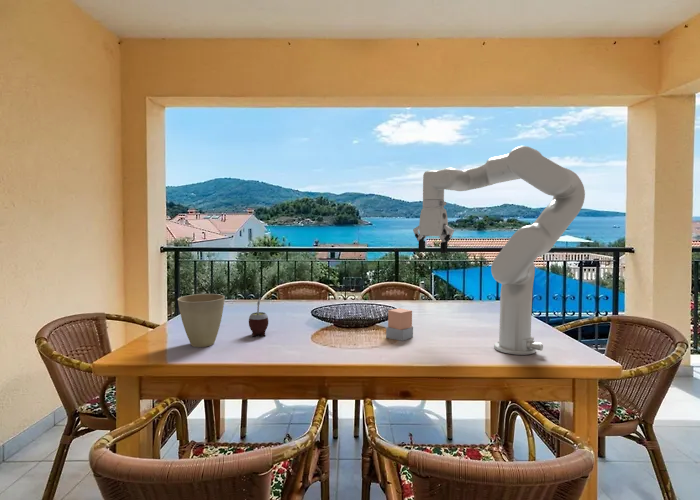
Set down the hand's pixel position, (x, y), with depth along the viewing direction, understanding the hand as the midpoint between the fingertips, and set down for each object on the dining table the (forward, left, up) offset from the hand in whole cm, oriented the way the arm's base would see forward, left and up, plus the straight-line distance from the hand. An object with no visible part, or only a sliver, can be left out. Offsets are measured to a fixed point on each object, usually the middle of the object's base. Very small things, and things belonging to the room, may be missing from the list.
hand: (432, 252), depth 156 cm
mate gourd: (+41, +48, -31) cm, 70 cm away
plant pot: (+44, +68, -31) cm, 87 cm away
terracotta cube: (+5, +12, -27) cm, 30 cm away
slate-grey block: (+5, +12, -31) cm, 33 cm away
